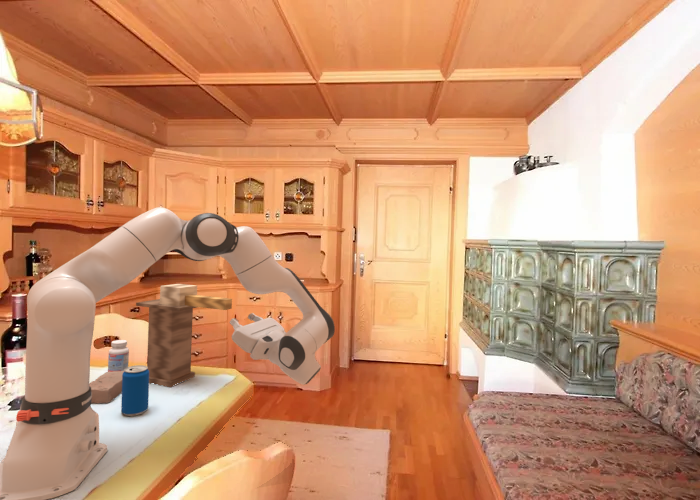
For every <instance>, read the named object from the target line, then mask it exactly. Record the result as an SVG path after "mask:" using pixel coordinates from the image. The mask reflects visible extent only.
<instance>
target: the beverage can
mask: <svg viewBox="0 0 700 500" xmlns="http://www.w3.org/2000/svg"><path fill="white" fill-rule="evenodd" d="M149 391H150V383H149V370H148V367H147V365H132V366H128V367H127V368H125V369H124V373H123V374H122V392H121V406H120V407H121V410H120V412H121V413H122V414H124V415H125V416H128V417H134V416H139V415H142V414H144V413H145V412H146V411H147V410H148V408H149V396H150V393H149Z"/></svg>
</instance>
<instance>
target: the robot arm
mask: <svg viewBox="0 0 700 500" xmlns="http://www.w3.org/2000/svg"><path fill="white" fill-rule="evenodd" d="M171 251H174V252H175V253H177V254H180V255H181V256H182V257H184V258H187V259H188V260H190V261H193V262H204V261H207V260H210V259H214V258H215V257H221V258H223V259H224V260H225V261H226V262H227V263H228V264H229V265H230V267H231V268H232V270H233V272H234V274H235V277H236V278H237V279H238V281H239V282H240V284H241V285H242V286H243V288H244V289H245V290H246V291H247V292H249V293H251V294H255V295H268V294H274V293H278V292H280V293H284V294H286V295H287V296H289V298H290V300H291V301H292V302H293V304H295V305H296V307H297V308H298V310H299V311H300V312H301V313H302V319H301V320H300V321H299V322H297V323H296V324H295V325H294V326H292V327H291V328H290V329H289V330H288V331H287V332H286V331H285V328H284V326H282V325H281V324H280V323H279V322H278V321H277V320H276V319H275V318H273V317H271V316H270V317H267V318H263V317H261V316H259V315H256V314H255V313H254V312H250V313H249V314H248V316H247V319H248V320H250V321H251V322H252V321H253V322H252V323H251V322H250V323H248V324H245V325H242V324H240V323H239V320H238V319H237V318H236V317H235V318H234V317H233V318H231V319H230V321H229V324H230V325H231V326H232V328H233V330H234V331H233V333H232V334H231V340H232V341H233V343H234V344H236V345H237V346H238V347H239V348H240V349H241V350H243V351H244V352H245V353H249V354H250V355H249V356H250V359H252V360H254V361H256V360H257V361H258V360H263V361H264V360H266V361H267V360H269V362H271V364H273V365H276V366H277V367H279V369H280V370H281V372H283V373H284V374H285V375H286V376H288V377H289V378H291V379H292V380H293V381H295V382H296V383H298V384H300V385H303V386H305V385H308V384H309V383H310V382H311V381H312V380H313V379H314V378H315V377H316V375H317V374H318V373H319V372H320V370H321V369H322V366H321V364H320V363H319V362H318V360H317V359H316V352H317V351H318V350H319V349H320V348H321V347H322V346H323V345H324V344H326V342H327V343H328V341H329V340H331V339H332V338H334V337H333V336H335V331H336V328H335V323H334V322H335V321H334V319H333V317H332V316H331V315H330V314H329V313H328V312H327V311H326V310H325V309H324V308H323V307H321V304H319V302H318V301H317V300H316V299H315V296H314V295H312V293H311V292H310V290H309V289H308V288H307V287H306V286H305V284H304V283H303V281H302V280H301V279H300V278H299V277H298V276H297V274H296V273H295V272H294V271H293V270H291V269H290V268H288V267H284V266H282V265H281V264H280V263H278V262H277V260H276V259H275V257H274V256H273V254H272V252H271V251H270V249H269V247H268V246H267V245H266V243H265V242H264V241H263V239H262V238H261V237H260V235H259V234H258V233H257V232H256V231H255V230H254V229H253V227H250V226H247V225H243V226H242V225H241V226H235V225H234V224H232V223H231V222H229V221H227V220H226V218H224V217H222V216H221V215H219V214H217V213H212V212H204V213H200V214H197V215H195V216H193V217H192V218H191V219H189V220H184V219H182V218H180V217H179V216H178V215H177V214H176V213H175V212H174V211H172V210H170V209H168V208H165V207H162V206H161V207H160V206H159V207H154V208H152V209H149V210H148V211H146V212H143V213H140V215H137V216H136V217H133V218H132V219H130V220H129V221H127V222H126V223H124V224H123V225H121V226H120V227H118V228H117V229H116V230H114V231H112V233H110V234H108V235H107V236H106V237H104V238H103V239H102V240H100V241H99V242H97V243H95V244H94V245H93V246H92V247H90V248H88V249H86V251H83V252H82V253H80V254H78V255H77V256H75V257H74V258H71V259H70V260H69V261H67V262H66V263H64V264H62V265H61V266H59V267H58V268H56V269H55V270H53V271H52V272H50V273H48V274H47V275H46V276H44V277H42V278H41V279H39V280H38V281H37V282H35V283H34V284H33V285H32V286H31V288H30V289H29V291H28V293H27V296H26V297H27V298H26V304H27V305H26V307H27V326H26V347H25V349H26V350H25V377H24V396H23V397H22V399H21V404H20V407H19V410H18V411H17V413H16V418H15V419H16V423H15V425H16V426H15V428H14V430H13V434H12V437H11V439H10V442H9V445H8V447H7V449H6V454H5V457H4V458H2V459H1V461H0V500H49V499H53V498H57V497H59V496H62V495H65V494H67V493H70V492H72V491H74V490H76V489H77V488H78V486H79V485H80V484H81V483H82V482H83V481H84V480H85V478H86V477H87V476H88V475H89V474H90V472H92V470H93V469H94V467H96V465H97V464H98V463H99V461H100V460H101V459H102V458H103V457H104V455H105V454H106V453H107V452H108V451H109V450H108V445H107V443H106V444H105V443H101V442H100V414H99V413H97V411H95V410H94V409H93V408H92V407H91V404H92V403H91V398H92V392H91V387H90V386H89V384H90V376H91V375H90V374H91V373H90V372H91V371H90V369H91V351H92V350H91V349H92V344H93V337H94V329H95V328H94V327H95V320H96V319H95V317H96V307H97V306H96V305H97V304H96V303H98V302H100V301H101V300H103V299H104V298H106V297H108V296H110V295H111V294H112V293H114V292H116V291H117V290H119V289H121V288H123V287H125V286H127V285H128V284H130V283H131V282H132V281H134V280H135V279H136V278H137V277H138V276H140V275H141V274H143V273H144V272H145V271H146V270H147V269H149V268H150V267H151V266H153V265H154V264H155V263H156V262H158V261H159V260H160V259H161V258H162V257H164V256H165V255H166V254H168V253H170V252H171Z"/></svg>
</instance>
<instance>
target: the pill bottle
mask: <svg viewBox="0 0 700 500" xmlns="http://www.w3.org/2000/svg"><path fill="white" fill-rule="evenodd" d="M110 345H111V348H110V349H109V350H108V359H107V361H108V362H107V364H108V365H107V372H113V371H124V369H125V368H127V367H129V356H130V348H129V347H127V345H128V341H127V340H125V339H116V340H113V341H111V344H110Z"/></svg>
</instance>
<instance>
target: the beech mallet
mask: <svg viewBox="0 0 700 500" xmlns="http://www.w3.org/2000/svg"><path fill="white" fill-rule="evenodd" d="M159 291H160V293H159V299H160V304H163V305H172V306H184V305H186V306H194V307H197V308H203V309H204V308H205V309H210V310H211V309H213V310H221V311H228V310H232V309H233V306H232V305H233V298H228V297H219V296H212V295H211V296H210V295H209V296H208V295H199V294H198V285H193V284H185V283H173V284H166V285H160V289H159Z"/></svg>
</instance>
